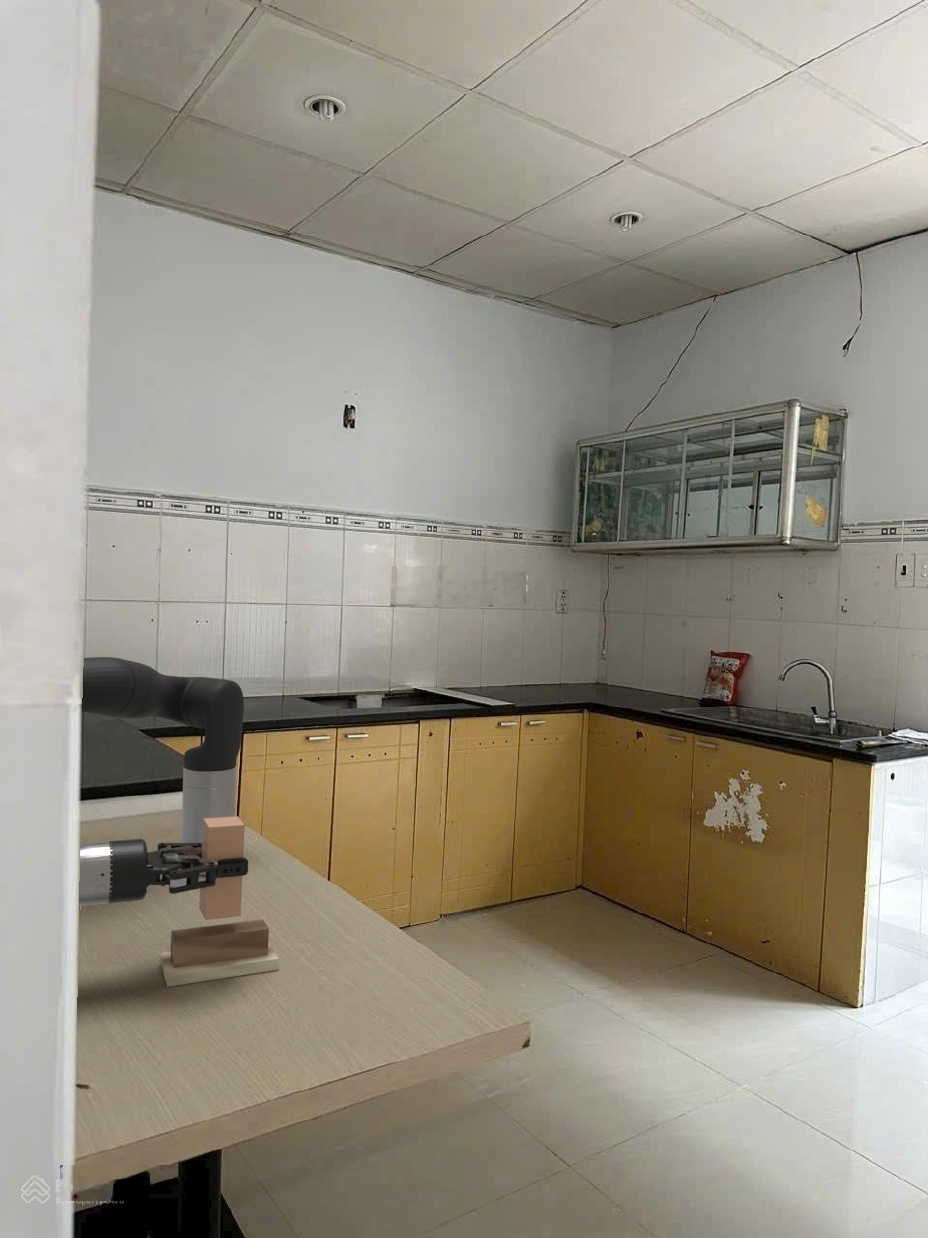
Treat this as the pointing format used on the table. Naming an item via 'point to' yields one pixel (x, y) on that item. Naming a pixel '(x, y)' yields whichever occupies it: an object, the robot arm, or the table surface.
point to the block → (218, 843)
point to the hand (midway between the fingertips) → (242, 860)
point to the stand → (218, 952)
